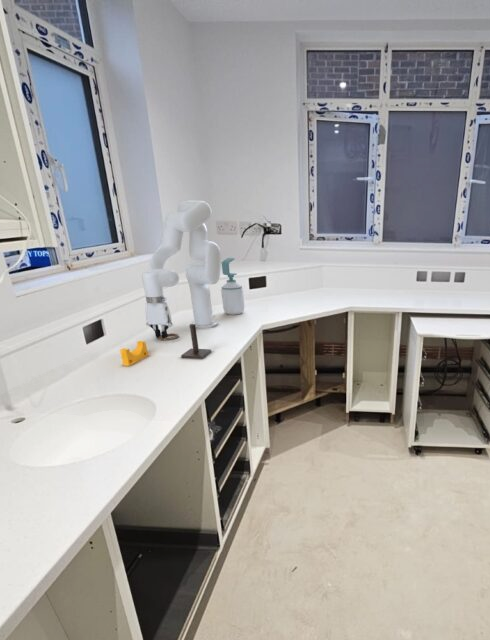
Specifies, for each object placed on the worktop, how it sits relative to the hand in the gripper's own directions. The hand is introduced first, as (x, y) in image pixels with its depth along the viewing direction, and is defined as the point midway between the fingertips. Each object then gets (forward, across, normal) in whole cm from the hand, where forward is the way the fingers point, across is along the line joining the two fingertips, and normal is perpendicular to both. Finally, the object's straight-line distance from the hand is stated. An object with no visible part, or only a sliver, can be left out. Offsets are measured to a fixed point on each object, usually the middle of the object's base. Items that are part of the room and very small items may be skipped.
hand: (161, 338), depth 190 cm
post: (0, -26, +19) cm, 32 cm away
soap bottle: (+1, -16, -55) cm, 57 cm away
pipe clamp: (+1, -4, +29) cm, 29 cm away
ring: (-1, -4, 0) cm, 4 cm away
